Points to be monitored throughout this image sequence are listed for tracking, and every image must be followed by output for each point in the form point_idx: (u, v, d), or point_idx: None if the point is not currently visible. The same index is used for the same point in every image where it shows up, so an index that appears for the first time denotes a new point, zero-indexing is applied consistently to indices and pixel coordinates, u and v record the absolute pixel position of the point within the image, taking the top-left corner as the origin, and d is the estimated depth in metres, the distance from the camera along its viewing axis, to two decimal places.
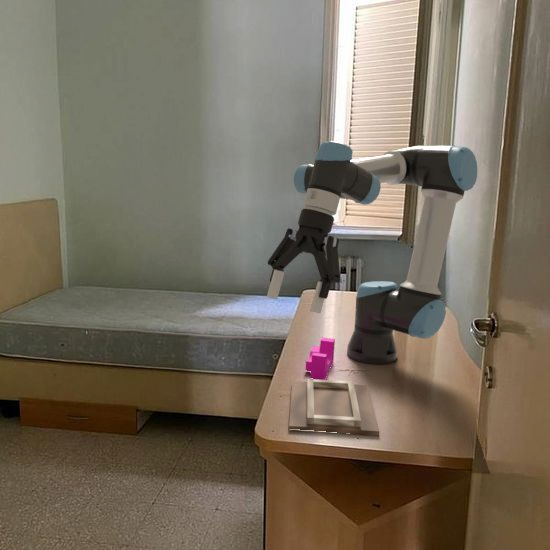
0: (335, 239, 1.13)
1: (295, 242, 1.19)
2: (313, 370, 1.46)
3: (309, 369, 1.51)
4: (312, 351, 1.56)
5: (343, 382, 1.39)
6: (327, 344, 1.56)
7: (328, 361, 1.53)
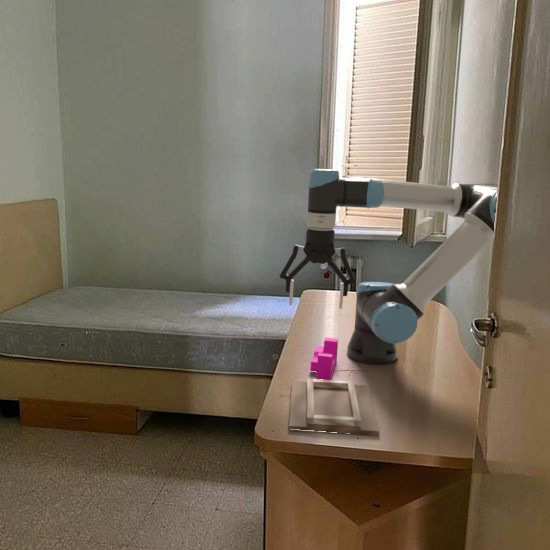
0: (344, 249, 1.42)
1: (308, 257, 1.42)
2: (319, 370, 1.46)
3: (314, 369, 1.51)
4: (316, 351, 1.56)
5: (343, 382, 1.39)
6: (331, 344, 1.56)
7: (332, 361, 1.53)
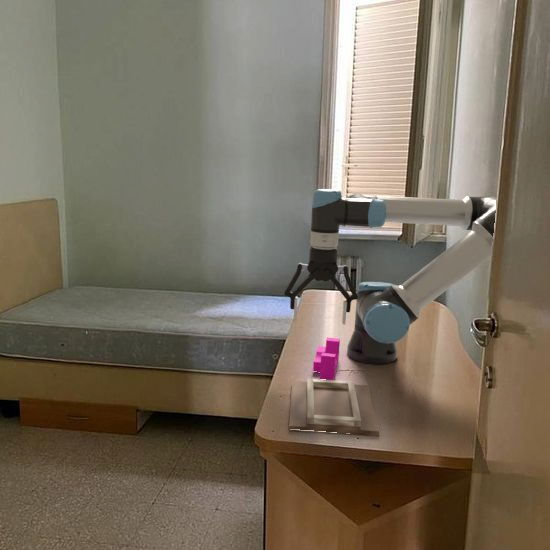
0: None
1: (312, 275, 1.45)
2: (322, 370, 1.46)
3: (317, 369, 1.51)
4: (318, 351, 1.56)
5: (343, 382, 1.39)
6: (333, 344, 1.56)
7: (335, 361, 1.53)
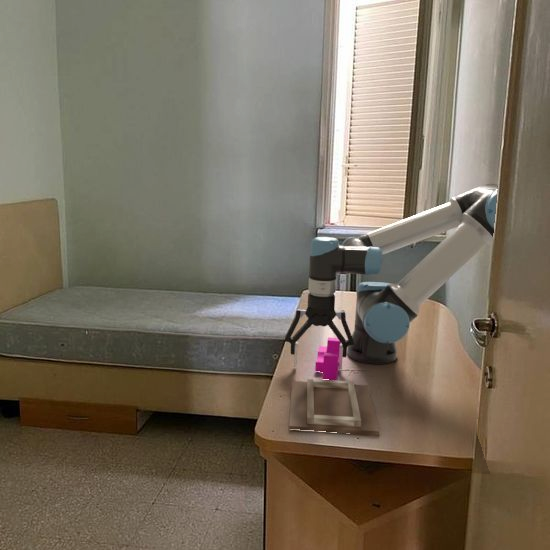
0: None
1: (311, 321, 1.48)
2: (325, 370, 1.46)
3: (319, 369, 1.51)
4: (319, 351, 1.56)
5: (343, 382, 1.39)
6: (334, 344, 1.56)
7: None
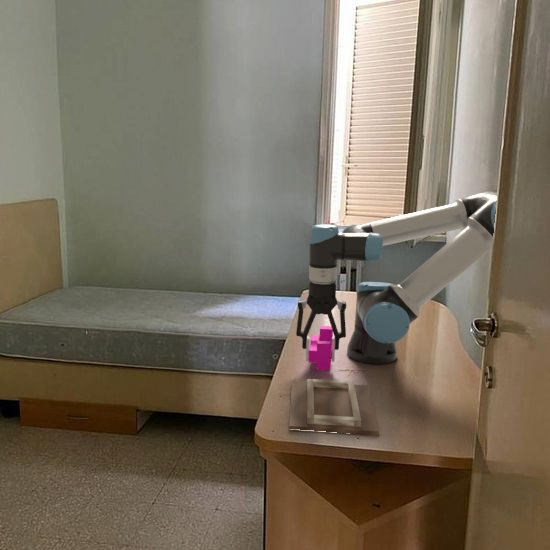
0: None
1: (314, 311, 1.48)
2: (318, 358, 1.46)
3: (312, 358, 1.51)
4: (312, 340, 1.56)
5: (343, 382, 1.39)
6: (326, 332, 1.56)
7: None
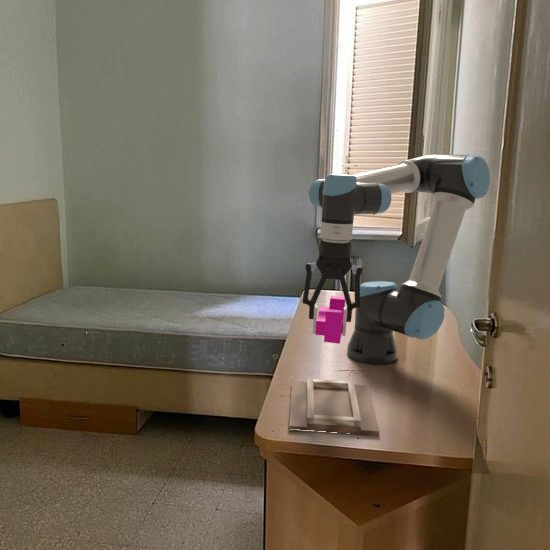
0: None
1: (324, 274, 1.27)
2: (327, 329, 1.25)
3: (320, 330, 1.30)
4: (321, 311, 1.36)
5: (343, 382, 1.39)
6: (338, 302, 1.36)
7: None
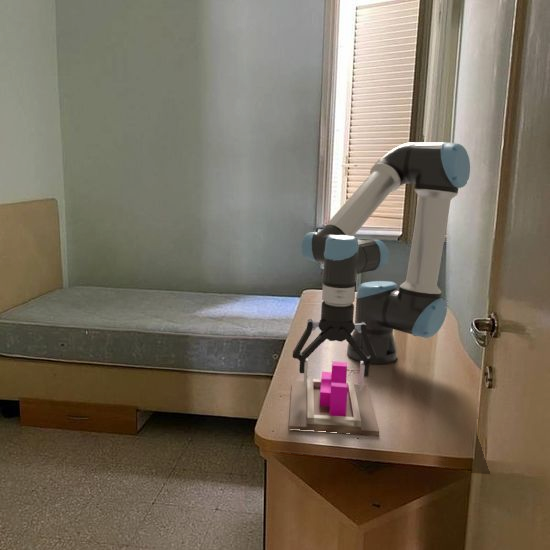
0: (365, 324, 1.26)
1: (325, 335, 1.25)
2: (332, 403, 1.24)
3: (324, 401, 1.29)
4: (323, 378, 1.34)
5: None
6: (340, 369, 1.35)
7: None
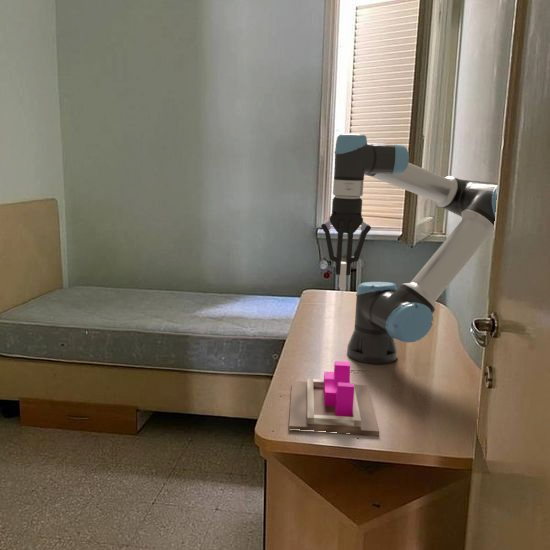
0: None
1: (340, 230, 1.36)
2: (339, 403, 1.24)
3: (329, 401, 1.29)
4: (327, 378, 1.34)
5: None
6: (343, 369, 1.35)
7: None
